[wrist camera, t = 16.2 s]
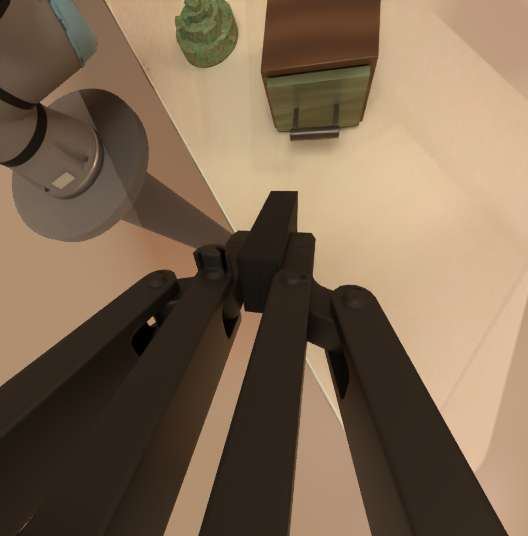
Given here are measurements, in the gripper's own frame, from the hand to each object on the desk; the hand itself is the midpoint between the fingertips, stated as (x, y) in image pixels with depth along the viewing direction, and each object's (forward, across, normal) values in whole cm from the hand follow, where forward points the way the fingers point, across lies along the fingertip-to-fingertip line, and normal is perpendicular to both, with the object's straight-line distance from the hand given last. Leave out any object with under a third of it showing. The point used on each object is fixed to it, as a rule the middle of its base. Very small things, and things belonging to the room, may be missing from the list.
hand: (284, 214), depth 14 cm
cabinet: (+34, 0, +6) cm, 35 cm away
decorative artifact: (+41, -19, +12) cm, 47 cm away
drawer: (+31, +1, +4) cm, 31 cm away
